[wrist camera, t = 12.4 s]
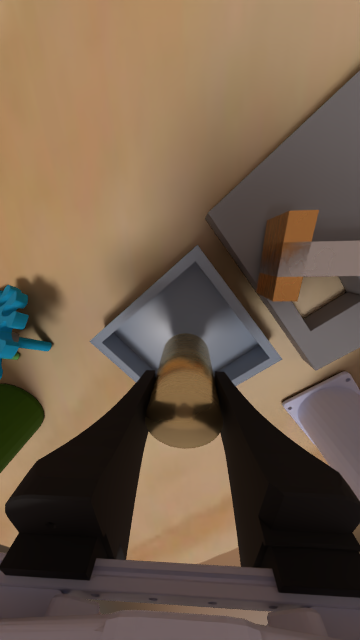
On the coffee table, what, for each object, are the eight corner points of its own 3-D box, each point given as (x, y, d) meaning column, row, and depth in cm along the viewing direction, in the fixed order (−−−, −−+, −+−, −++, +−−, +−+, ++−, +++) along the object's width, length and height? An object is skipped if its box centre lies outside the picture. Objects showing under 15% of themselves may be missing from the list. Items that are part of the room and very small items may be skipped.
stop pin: (217, 357, 15) (238, 430, 9) (182, 379, 16) (177, 457, 10) (190, 324, 14) (190, 379, 8) (153, 350, 15) (129, 416, 9)
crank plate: (477, 261, 15) (520, 262, 13) (302, 359, 19) (315, 370, 17) (419, 18, 10) (472, -36, 8) (205, 218, 14) (207, 212, 12)
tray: (267, 343, 18) (282, 359, 15) (179, 398, 21) (177, 419, 19) (195, 246, 15) (197, 244, 12) (104, 328, 18) (89, 341, 15)
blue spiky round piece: (18, 263, 15) (-15, 384, 10) (81, 293, 20) (76, 383, 15) (-42, 309, 18) (-85, 413, 14) (25, 324, 23) (8, 404, 19)
